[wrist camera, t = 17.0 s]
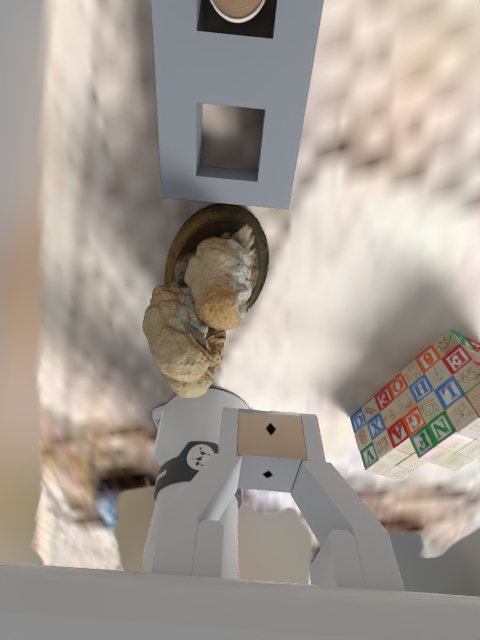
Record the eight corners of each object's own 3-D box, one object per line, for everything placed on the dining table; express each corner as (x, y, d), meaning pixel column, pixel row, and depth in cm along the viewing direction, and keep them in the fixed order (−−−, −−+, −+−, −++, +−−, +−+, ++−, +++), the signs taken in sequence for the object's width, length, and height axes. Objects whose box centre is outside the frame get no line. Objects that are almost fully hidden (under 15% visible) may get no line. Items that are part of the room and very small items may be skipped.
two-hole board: (285, 197, 35) (288, 209, 32) (170, 186, 35) (161, 197, 32) (332, -99, 23) (345, -126, 20) (158, -118, 23) (142, -150, 20)
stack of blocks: (378, 428, 57) (404, 502, 48) (348, 417, 56) (369, 491, 46) (483, 344, 46) (546, 419, 36) (448, 327, 44) (504, 400, 34)
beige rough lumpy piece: (240, 339, 47) (233, 450, 33) (157, 318, 45) (113, 425, 32) (287, 219, 36) (305, 308, 23) (181, 186, 35) (131, 260, 21)
